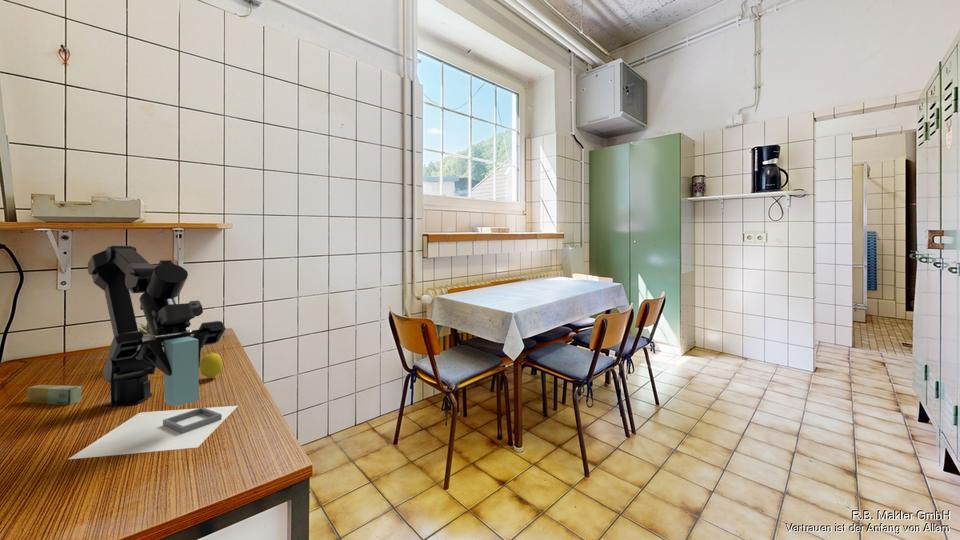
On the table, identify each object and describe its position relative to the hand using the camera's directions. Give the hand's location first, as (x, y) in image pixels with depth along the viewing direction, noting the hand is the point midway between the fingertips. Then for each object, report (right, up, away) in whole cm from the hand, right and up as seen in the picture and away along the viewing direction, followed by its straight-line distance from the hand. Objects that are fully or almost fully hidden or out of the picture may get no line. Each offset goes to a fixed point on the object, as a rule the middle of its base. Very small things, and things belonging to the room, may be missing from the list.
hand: (184, 371), depth 78 cm
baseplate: (-5, -13, +1) cm, 14 cm away
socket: (-1, -12, +4) cm, 13 cm away
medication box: (-45, -12, +16) cm, 49 cm away
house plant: (-45, -11, +48) cm, 67 cm away
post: (-1, -7, +1) cm, 7 cm away
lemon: (-19, -12, +34) cm, 41 cm away
